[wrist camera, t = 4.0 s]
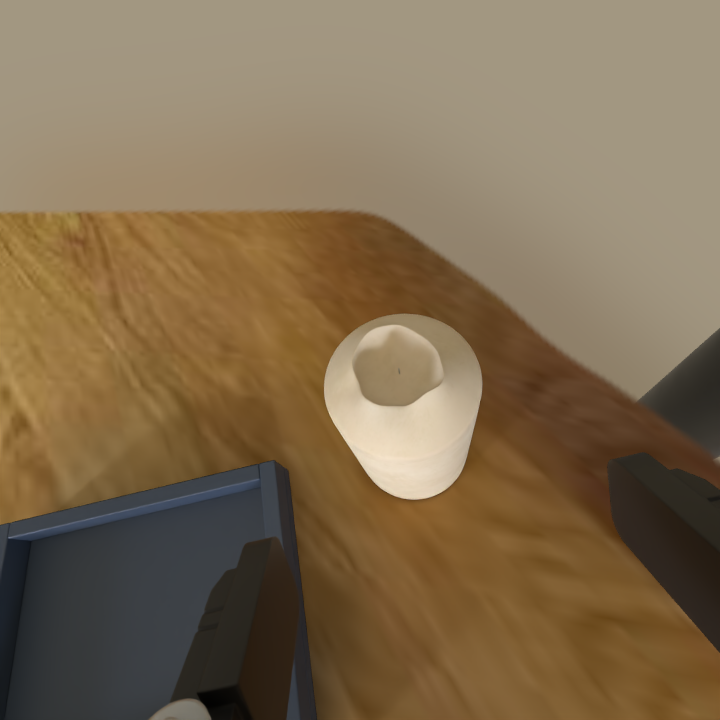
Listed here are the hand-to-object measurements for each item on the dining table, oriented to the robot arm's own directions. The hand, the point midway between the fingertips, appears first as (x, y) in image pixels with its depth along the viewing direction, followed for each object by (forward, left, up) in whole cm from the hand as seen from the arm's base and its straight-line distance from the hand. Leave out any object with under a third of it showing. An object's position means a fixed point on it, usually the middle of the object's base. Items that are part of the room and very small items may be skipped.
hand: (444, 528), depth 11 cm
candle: (0, -5, -11) cm, 12 cm away
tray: (+14, +1, -11) cm, 18 cm away
